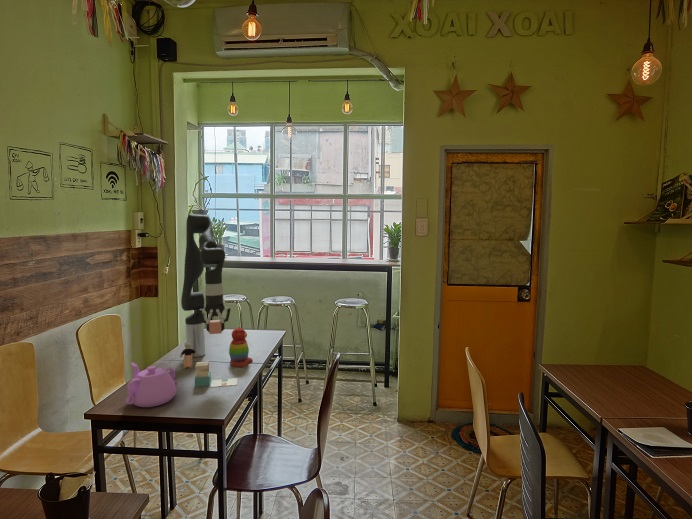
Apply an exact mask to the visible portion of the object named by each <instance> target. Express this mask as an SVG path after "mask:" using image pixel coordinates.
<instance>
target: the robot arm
mask: <svg viewBox="0 0 692 519" xmlns="http://www.w3.org/2000/svg"><path fill="white" fill-rule="evenodd" d="M185 226H186V228H185V230H186V236H185V237H186V242H185V243H186V244H185V246H186V247H185V255H184V256H185V258H184V268H183V286H182V292H181V300H180V302H181V303H180V304H181V308H182V311H184V312H186V311H187V312H188V311H189V312H190V311H194V312H192V314H190V315H189V316H187V317H186V318H184V319H185V320H184V322H185V323H184V324H185V342H190V343H191V344H192V346H191V347H190V349H193V350H194V351H196V354H197V356H195V355H194V354H193V353H191V354H192V358H200V357H202V356H205V355H206V337H205V336H206V335H205V327H206V331H207V332H208V333H209V322H210V320H211V319H212V318H213V317H218V318H219V320H221V331H222V332H224V330H225V326H226V325H225V323H226V322H228V321H229V319H230V314H231V311H232V310H231V306H230V307H226V306H225V305H224V287H223V268H224V263H225V259H226V252H225V250H224V249H223V248H221V247H218V245H217V242H216V240H215V237H214V231H213V225H212V220H211V218H210V215H207V214H194V213H192V214H188V215H187V217H186V225H185ZM194 234H200V236H199V238H198V245H199V247H200V248H199V247H198V245H197V243H196V241H195V240H196V239H195V237H194ZM205 265H206V266H207V265H215V266H214V267H213V268H210V269H207V270H206V271H205V273H204V269H205ZM203 273H204V280H205V281H204V282H205V286H204V294H203V292H201V291H195V292H194V291H193V288H194V286H195V284H196V282H197V281H198V279H199V278H200V277H201V275H203ZM192 291H193V292H192ZM204 295H205V296H204ZM224 311H225V313H226V316H225V318H224V317H223V316H224V315H223V314H222V313H223V312H224ZM205 312H206V313H207V314H208V315H207V319H206V318H205ZM205 324H206V325H205Z"/></svg>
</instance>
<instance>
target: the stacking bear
mask: <svg viewBox="0 0 692 519" xmlns="http://www.w3.org/2000/svg"><path fill="white" fill-rule="evenodd" d="M247 336H248V333H247V332H246V331H245V330H244V328H241V327H240V326H238V327H237V328H234V329H233V330H232V331H231V338H232V340H231V342H230V344H229V349H228V354H229V357H230V362H229V365H231V366H232V367H235V368H246V367H247V366H248V364H250V363H253V358H251V357H249V345H248V341H247V339H246V338H247Z"/></svg>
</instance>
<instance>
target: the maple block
mask: <svg viewBox="0 0 692 519" xmlns="http://www.w3.org/2000/svg"><path fill="white" fill-rule="evenodd" d="M209 372H210V361H207V360H206V361H198V362H197V361H196V363H195V375H196V377H207V376H208V375H209Z"/></svg>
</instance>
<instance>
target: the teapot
mask: <svg viewBox="0 0 692 519" xmlns="http://www.w3.org/2000/svg"><path fill="white" fill-rule="evenodd" d="M130 365H131V366H132V378H131V380H130V381H129V382H128V383H127V385H126V386H127V387H126V388H127V392H128V397H126V398H125V403H126V404H127V405H134V406H135V407H139V408H153V407H157V406H161V405H164V404H166V403H168V402H170V401H171V400H172V399H173V398H174V396H175V395H176V393H177V385H178V381H176V380H175V377H176V371H175V368H173V367H169V366H167V367H165V368H160V367H157V366H156V365H151V366H148V367H147V366H146V369H144V370H142V371H140V368H139V365H138V364H137V363H135V362H134V361H133V362H131V363H130ZM168 371H170V373H169V372H168Z"/></svg>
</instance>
